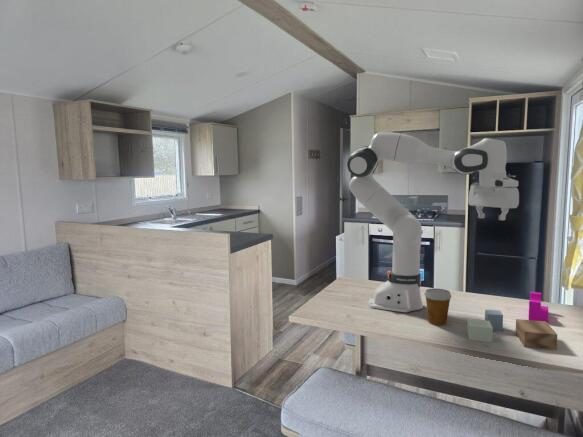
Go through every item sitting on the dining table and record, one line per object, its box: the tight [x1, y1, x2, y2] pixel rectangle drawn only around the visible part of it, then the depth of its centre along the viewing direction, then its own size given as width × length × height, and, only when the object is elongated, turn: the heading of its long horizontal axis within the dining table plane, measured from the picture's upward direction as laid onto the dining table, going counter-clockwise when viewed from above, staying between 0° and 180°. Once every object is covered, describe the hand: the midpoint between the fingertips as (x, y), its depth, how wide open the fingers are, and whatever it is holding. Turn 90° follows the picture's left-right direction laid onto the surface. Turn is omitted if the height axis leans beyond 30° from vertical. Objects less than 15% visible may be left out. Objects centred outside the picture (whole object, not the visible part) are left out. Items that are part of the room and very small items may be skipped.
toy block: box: [528, 291, 549, 324], centre depth 156 cm, size 15×6×8 cm, turn 147°
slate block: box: [484, 309, 504, 332], centre depth 144 cm, size 5×5×6 cm
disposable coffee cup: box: [424, 287, 452, 326], centre depth 150 cm, size 10×10×12 cm
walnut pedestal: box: [515, 318, 558, 351], centre depth 132 cm, size 9×12×5 cm
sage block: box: [466, 318, 494, 343], centre depth 136 cm, size 7×7×5 cm
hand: (491, 219), depth 150 cm, fingers open, 8 cm apart
